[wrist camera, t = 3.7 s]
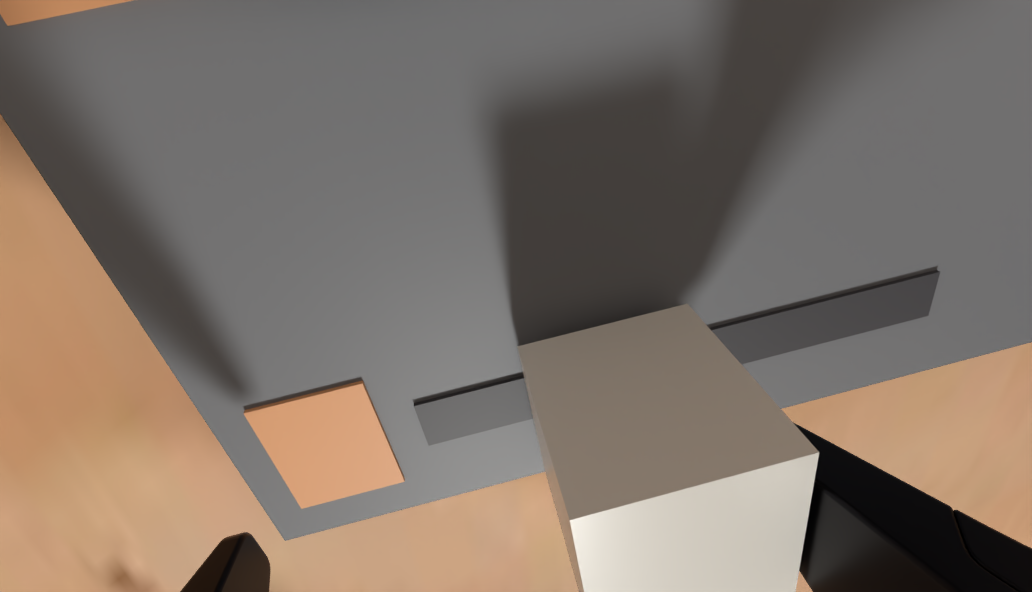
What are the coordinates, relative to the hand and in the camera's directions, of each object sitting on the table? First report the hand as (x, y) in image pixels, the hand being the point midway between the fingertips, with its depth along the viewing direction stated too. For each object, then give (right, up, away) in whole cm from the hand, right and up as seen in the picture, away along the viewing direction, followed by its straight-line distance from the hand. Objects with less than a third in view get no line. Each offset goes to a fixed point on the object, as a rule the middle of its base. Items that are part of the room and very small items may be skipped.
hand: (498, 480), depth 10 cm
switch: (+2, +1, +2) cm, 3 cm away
